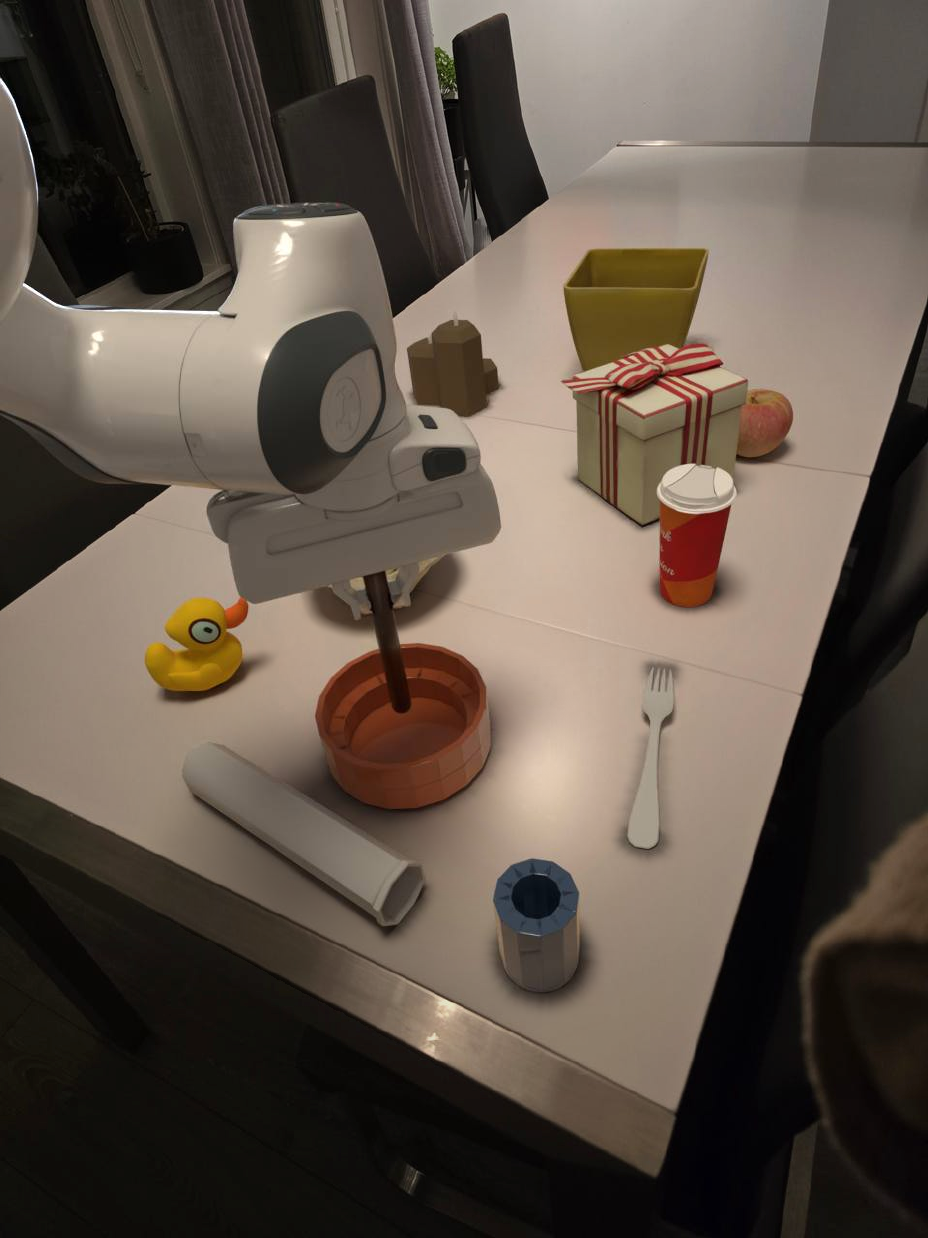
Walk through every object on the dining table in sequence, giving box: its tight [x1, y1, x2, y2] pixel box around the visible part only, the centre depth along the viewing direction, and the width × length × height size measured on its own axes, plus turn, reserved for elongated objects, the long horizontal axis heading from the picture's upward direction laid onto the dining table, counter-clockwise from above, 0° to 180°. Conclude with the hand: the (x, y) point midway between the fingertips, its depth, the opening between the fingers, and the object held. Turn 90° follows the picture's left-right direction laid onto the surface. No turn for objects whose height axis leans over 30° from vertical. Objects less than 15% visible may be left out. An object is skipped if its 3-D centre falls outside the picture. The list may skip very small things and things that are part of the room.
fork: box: [626, 667, 675, 850], centre depth 72 cm, size 3×21×3 cm, turn 165°
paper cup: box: [657, 464, 738, 608], centre depth 84 cm, size 8×8×14 cm
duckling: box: [144, 597, 249, 692], centre depth 82 cm, size 11×5×10 cm, turn 112°
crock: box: [492, 857, 581, 994], centre depth 56 cm, size 6×6×8 cm
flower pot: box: [562, 247, 710, 372], centre depth 126 cm, size 19×19×17 cm
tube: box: [181, 742, 426, 927], centre depth 67 cm, size 5×5×25 cm
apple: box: [736, 388, 794, 458], centre depth 107 cm, size 9×9×8 cm
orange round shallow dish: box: [314, 642, 492, 810], centre depth 73 cm, size 15×15×6 cm
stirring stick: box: [363, 571, 412, 714], centre depth 67 cm, size 2×2×17 cm
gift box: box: [560, 342, 749, 526], centre depth 101 cm, size 17×18×17 cm
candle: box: [406, 310, 500, 417], centre depth 126 cm, size 14×14×15 cm
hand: (381, 608), depth 65 cm, fingers closed on stirring stick, 2 cm apart
